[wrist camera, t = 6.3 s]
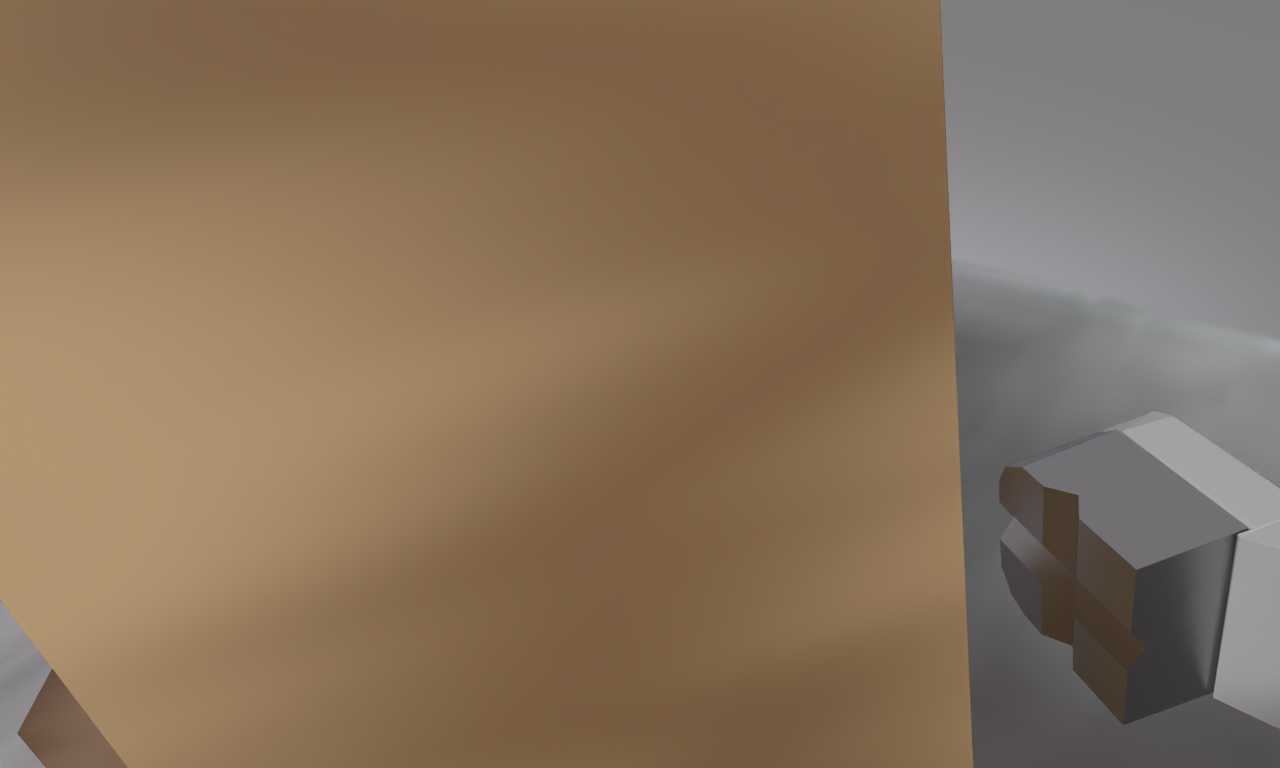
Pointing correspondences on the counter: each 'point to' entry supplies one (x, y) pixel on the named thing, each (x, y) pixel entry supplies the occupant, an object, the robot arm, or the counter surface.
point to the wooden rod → (484, 381)
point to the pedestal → (65, 731)
